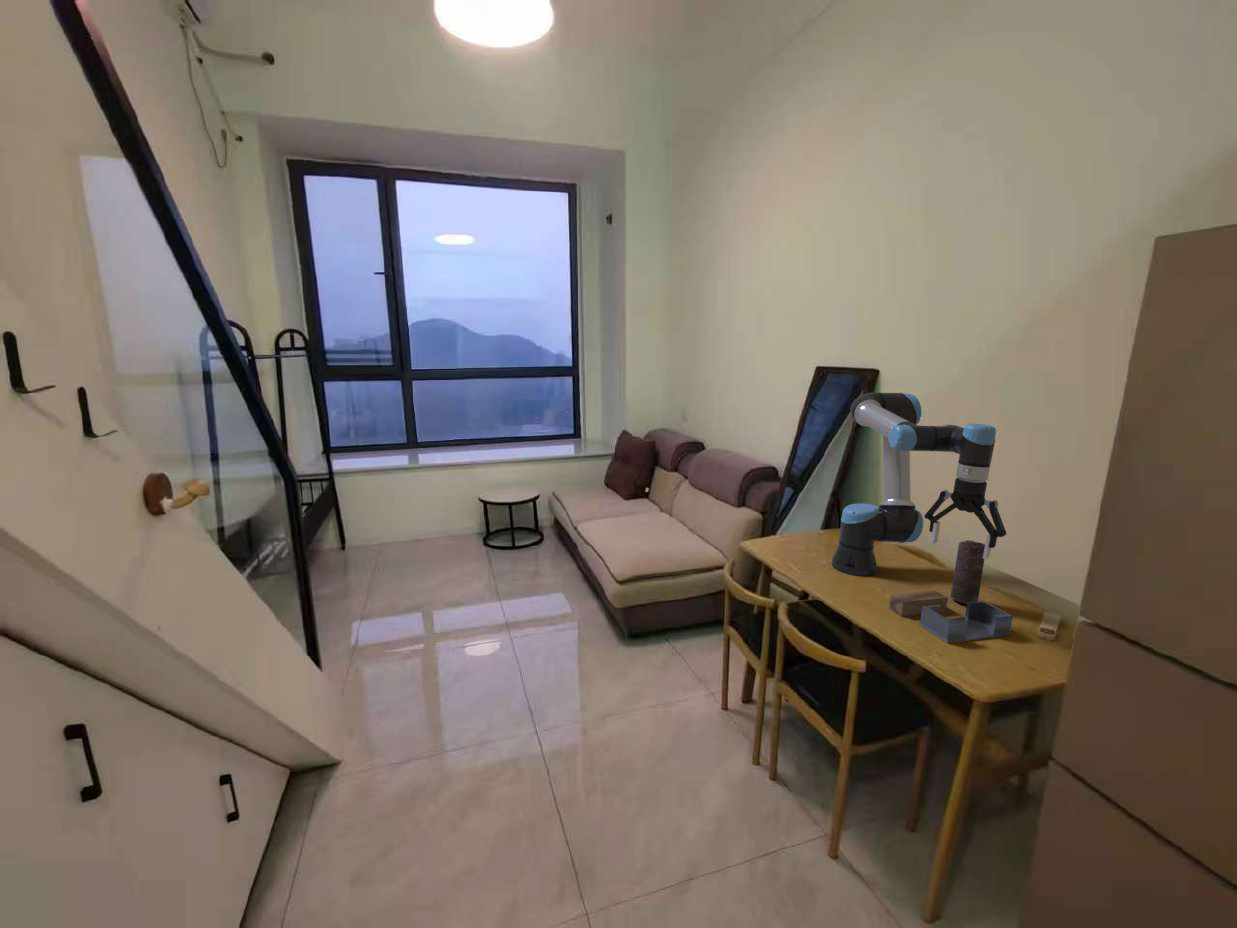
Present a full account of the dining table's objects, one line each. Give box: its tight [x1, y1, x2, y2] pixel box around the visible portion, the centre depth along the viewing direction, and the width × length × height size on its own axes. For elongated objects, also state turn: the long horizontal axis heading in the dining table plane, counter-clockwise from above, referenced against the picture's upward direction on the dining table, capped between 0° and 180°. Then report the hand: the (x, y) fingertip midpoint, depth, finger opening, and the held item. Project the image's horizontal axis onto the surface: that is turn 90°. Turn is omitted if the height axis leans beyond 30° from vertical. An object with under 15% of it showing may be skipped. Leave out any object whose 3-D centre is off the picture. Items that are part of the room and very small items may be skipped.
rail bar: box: [888, 590, 949, 618], centre depth 162 cm, size 5×16×5 cm, turn 104°
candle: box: [950, 539, 985, 605], centre depth 166 cm, size 8×7×20 cm
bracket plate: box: [918, 599, 1014, 644], centre depth 150 cm, size 10×21×6 cm, turn 103°
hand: (958, 550), depth 154 cm, fingers open, 13 cm apart
